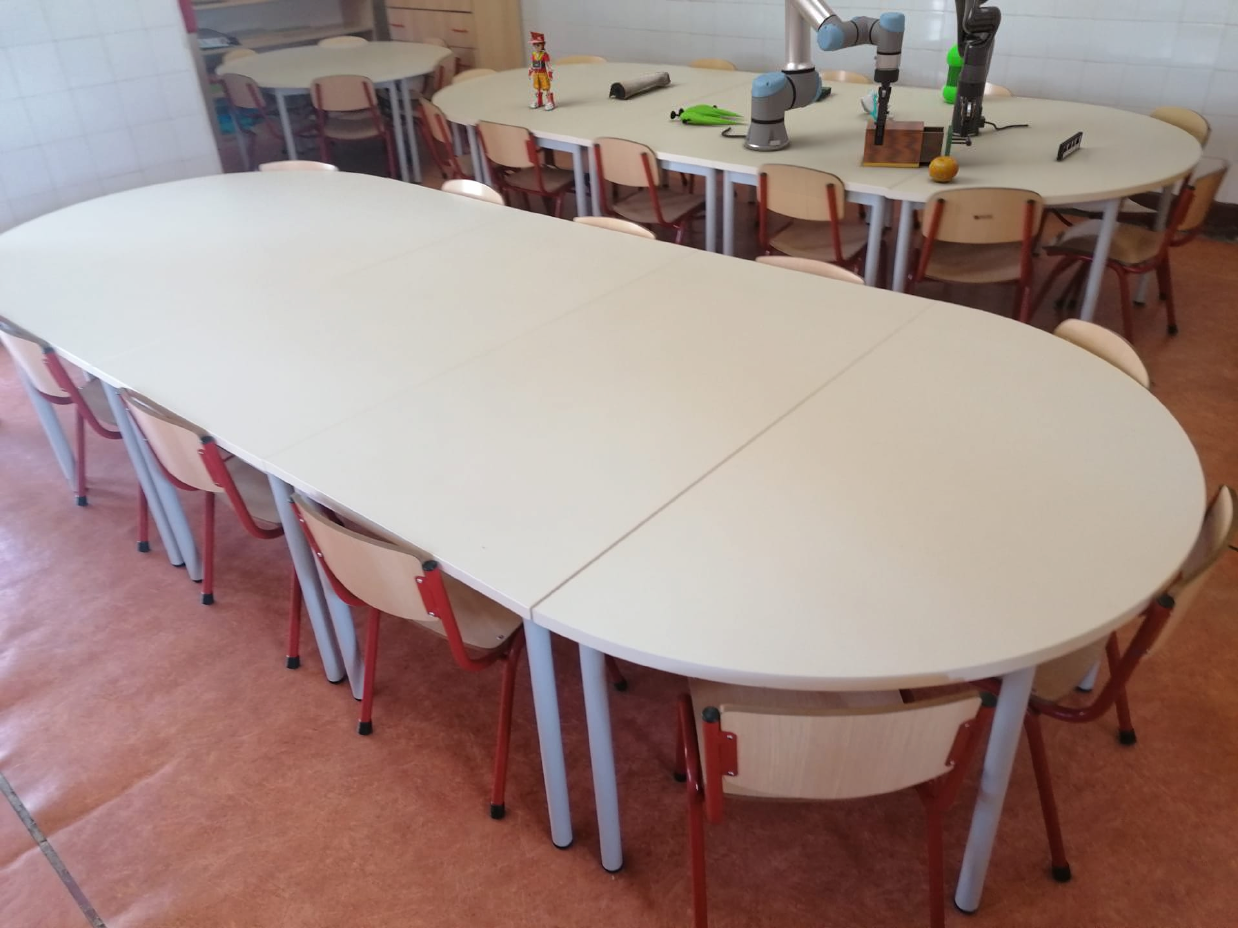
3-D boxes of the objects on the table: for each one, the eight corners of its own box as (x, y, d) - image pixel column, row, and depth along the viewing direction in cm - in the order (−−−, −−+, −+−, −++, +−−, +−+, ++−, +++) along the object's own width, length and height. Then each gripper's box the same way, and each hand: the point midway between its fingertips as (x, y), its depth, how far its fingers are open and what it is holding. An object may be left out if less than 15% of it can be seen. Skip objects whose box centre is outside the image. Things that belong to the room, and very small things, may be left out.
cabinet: (919, 158, 298) (924, 121, 291) (918, 167, 290) (923, 130, 283) (864, 156, 302) (868, 120, 296) (862, 166, 294) (866, 129, 288)
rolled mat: (651, 76, 408) (662, 61, 399) (662, 93, 408) (674, 79, 400) (605, 92, 391) (616, 77, 383) (617, 110, 391) (628, 95, 383)
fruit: (922, 172, 274) (939, 148, 271) (923, 174, 282) (940, 151, 279) (945, 187, 273) (963, 164, 270) (946, 189, 281) (963, 166, 278)
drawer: (968, 156, 293) (973, 125, 287) (968, 165, 285) (973, 133, 280) (896, 155, 299) (899, 124, 293) (895, 163, 291) (898, 132, 286)
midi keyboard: (1060, 160, 287) (1063, 145, 284) (1056, 160, 288) (1059, 144, 285) (1079, 147, 298) (1083, 132, 295) (1075, 147, 298) (1079, 131, 296)
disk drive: (818, 102, 366) (831, 94, 376) (818, 95, 364) (831, 87, 374) (794, 100, 370) (807, 92, 380) (794, 93, 369) (808, 85, 379)
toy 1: (525, 109, 381) (517, 32, 364) (534, 104, 388) (527, 28, 371) (550, 110, 377) (543, 32, 360) (559, 105, 384) (553, 28, 367)
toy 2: (660, 123, 346) (729, 136, 334) (661, 109, 344) (731, 121, 331) (693, 112, 367) (760, 123, 354) (694, 98, 364) (762, 110, 351)
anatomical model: (855, 90, 344) (881, 82, 343) (857, 117, 350) (883, 110, 349) (867, 99, 332) (894, 92, 331) (869, 127, 337) (896, 120, 337)
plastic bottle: (973, 101, 354) (984, 32, 339) (955, 106, 349) (966, 36, 335) (952, 97, 361) (962, 29, 346) (934, 102, 356) (944, 33, 342)
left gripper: (877, 60, 291) (870, 130, 303) (872, 76, 273) (865, 150, 285) (901, 60, 289) (893, 131, 301) (898, 76, 271) (889, 150, 283)
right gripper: (959, 74, 282) (950, 130, 292) (960, 84, 271) (951, 142, 281) (984, 74, 280) (975, 131, 290) (986, 84, 269) (976, 143, 279)
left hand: (879, 140), depth 293 cm, fingers closed on cabinet, 10 cm apart
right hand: (963, 136), depth 285 cm, fingers closed
